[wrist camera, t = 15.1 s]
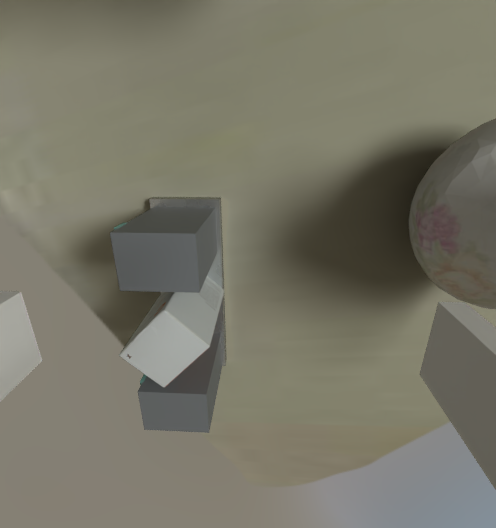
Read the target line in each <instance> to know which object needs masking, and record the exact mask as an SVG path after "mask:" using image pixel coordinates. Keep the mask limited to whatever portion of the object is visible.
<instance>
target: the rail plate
mask: <svg viewBox="0 0 496 528" xmlns="http://www.w3.org/2000/svg"><path fill="white" fill-rule="evenodd" d="M149 201H150V209H151V208H153V207H216V226H217V250H218V252H217V254H216V257H215V259H214V261H213V263H212V266H211V268H210V270H209V272H208V275H207V276H208V277H209V278H210V279H212V280H213V281H214V282H215V283H216V284H218V285H219V286H220V287H221V288H222V289H224V271H223V242H222V213H221V198H211V197H152V198H150V199H149ZM162 293H163V292H161V294H162ZM214 333H221V348H222V365H223V366H225V365H226V330H225V301H224V295H223V298H222V302H221V306H220V310H219V313H218V317H217V321H216V325H215V329H214Z"/></svg>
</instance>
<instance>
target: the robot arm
mask: <svg viewBox="0 0 496 528" xmlns="http://www.w3.org/2000/svg"><path fill="white" fill-rule="evenodd" d="M41 361H42V358H41V354H40V351H39V348H38V345H37V342H36V339H35V335H34V332H33V329H32V326H31V322H30V319H29V316H28V312H27V309H26V306H25V303H24V300H23V296H22V293H21V292H16V291H0V402H1V400H3V399H4V398H5V397H6V396H7V395H8V394H9V393H10V392H11V391H12V390H13V389H14V388H15V387H16V386H17V385H18V384H19V383H20V382H21V381H22V380H23V379H24V378H25V377H26V376H27V375H28V374H29V373H30V372H31V371H32V370H33V369H34V368H35V367H36V366H37V365H38V364H39V363H40V362H41ZM420 376H421V377H422V379H423V380H424V382H425V383H426V385H427V386H428V388H429V389H430V391H431V392H432V394H433V396H434V397H435V399H436V400H437V402H438V403H439V405H440V406H441V408H442V409H443V411H444V412H445V414H446V415H447V417H448V418H449V420H450V421H451V423H452V424H453V426H454V427H455V429H456V430H457V432H458V433H459V435H460V436H461V438H462V439H463V441H464V442H465V444H466V446H467V447H468V449H469V450H470V451H471V453H472V455H473V456H474V458H475V459H476V461H477V462H478V464H479V465H480V467H481V468H482V469H483V471H484V473H485V474H486V476H487V477H488V479H489V480H490V482H491V483H492V485H493V486H494V488H495V489H496V327H494V326H493V325H492V324H491V323H489V322H488V321H487V320H486V319H485V318H483V317H482V316H481V315H480V314H478V313H477V312H476V311H475V310H473V309H472V308H471V307H470V306H468V305H467V304H466V303H465V302H438V306H437V309H436V313H435V317H434V321H433V325H432V329H431V332H430V336H429V340H428V344H427V348H426V352H425V355H424V359H423V363H422V367H421V371H420Z"/></svg>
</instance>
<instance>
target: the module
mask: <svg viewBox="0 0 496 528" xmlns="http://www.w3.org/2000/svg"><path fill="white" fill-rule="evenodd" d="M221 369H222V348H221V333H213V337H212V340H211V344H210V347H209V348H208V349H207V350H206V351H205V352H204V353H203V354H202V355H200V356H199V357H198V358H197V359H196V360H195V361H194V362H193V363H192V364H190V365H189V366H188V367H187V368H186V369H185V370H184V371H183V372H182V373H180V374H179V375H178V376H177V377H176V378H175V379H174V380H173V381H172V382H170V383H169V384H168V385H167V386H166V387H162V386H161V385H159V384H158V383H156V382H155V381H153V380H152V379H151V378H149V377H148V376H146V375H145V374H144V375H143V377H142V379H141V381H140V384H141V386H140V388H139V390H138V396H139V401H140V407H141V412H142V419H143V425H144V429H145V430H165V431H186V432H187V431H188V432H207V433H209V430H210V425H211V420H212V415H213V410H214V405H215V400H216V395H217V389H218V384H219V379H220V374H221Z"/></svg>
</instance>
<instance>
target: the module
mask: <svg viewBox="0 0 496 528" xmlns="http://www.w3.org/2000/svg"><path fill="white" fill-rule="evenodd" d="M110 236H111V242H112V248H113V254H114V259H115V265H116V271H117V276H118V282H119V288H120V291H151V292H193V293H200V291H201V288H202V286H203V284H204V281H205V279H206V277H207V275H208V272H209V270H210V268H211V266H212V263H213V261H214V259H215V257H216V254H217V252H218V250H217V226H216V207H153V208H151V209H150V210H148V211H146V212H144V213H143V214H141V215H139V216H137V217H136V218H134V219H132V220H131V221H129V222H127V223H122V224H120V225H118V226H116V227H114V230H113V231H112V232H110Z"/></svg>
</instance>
